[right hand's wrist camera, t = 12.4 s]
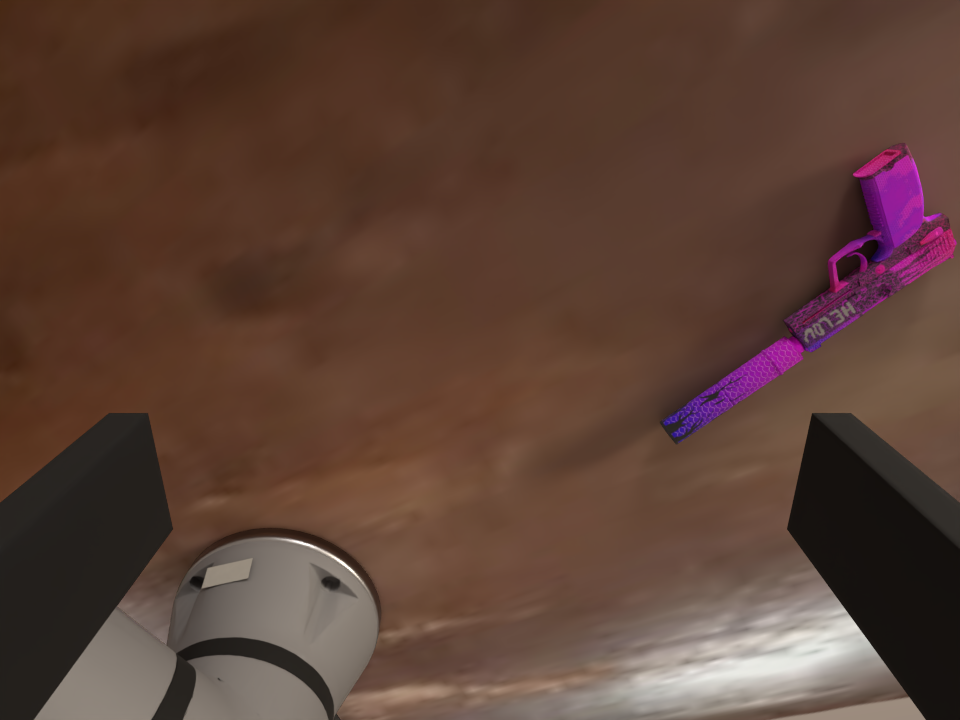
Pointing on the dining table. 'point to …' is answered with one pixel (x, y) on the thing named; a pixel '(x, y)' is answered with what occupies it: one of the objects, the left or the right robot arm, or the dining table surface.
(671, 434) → the handgun
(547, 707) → the dining table surface
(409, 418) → the dining table surface
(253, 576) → the right robot arm
